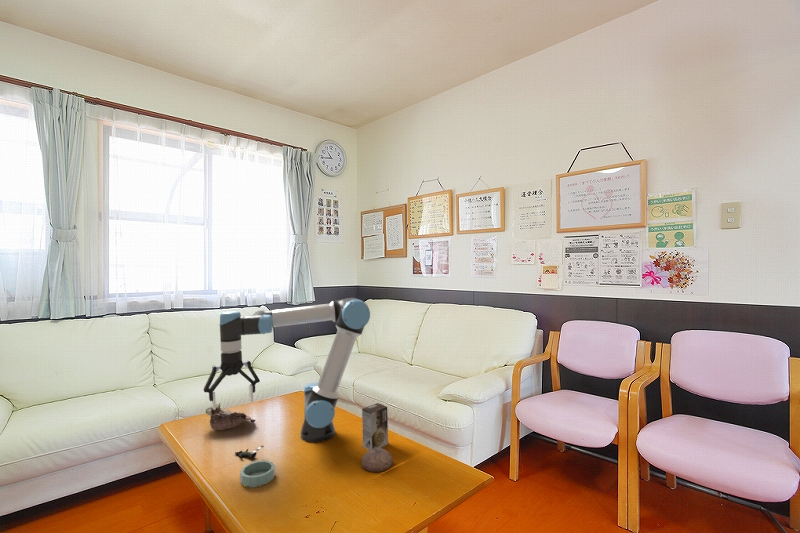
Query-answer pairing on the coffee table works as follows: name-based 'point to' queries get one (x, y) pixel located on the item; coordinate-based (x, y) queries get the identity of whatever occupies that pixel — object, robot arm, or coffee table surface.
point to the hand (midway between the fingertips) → (233, 404)
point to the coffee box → (375, 426)
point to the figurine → (248, 453)
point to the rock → (225, 418)
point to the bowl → (257, 473)
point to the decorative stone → (377, 460)
